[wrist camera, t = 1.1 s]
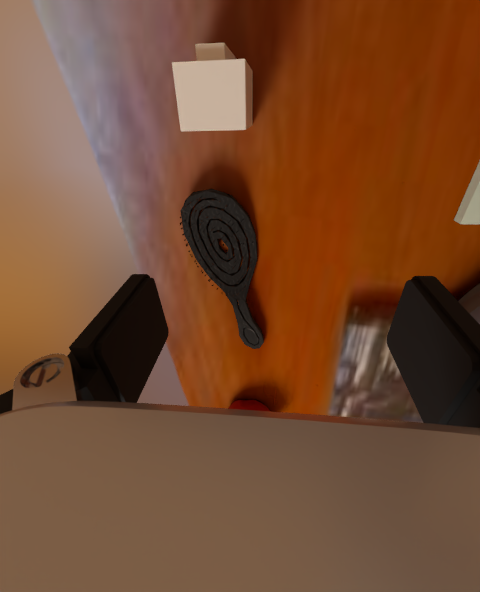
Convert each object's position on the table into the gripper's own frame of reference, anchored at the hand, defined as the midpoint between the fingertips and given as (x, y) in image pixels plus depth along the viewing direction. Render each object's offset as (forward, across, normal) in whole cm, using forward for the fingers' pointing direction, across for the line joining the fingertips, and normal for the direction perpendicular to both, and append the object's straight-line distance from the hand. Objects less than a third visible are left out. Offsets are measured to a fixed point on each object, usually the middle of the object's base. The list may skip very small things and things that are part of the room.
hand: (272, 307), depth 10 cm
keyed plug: (+22, +5, -7) cm, 24 cm away
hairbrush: (+23, +5, +12) cm, 26 cm away
